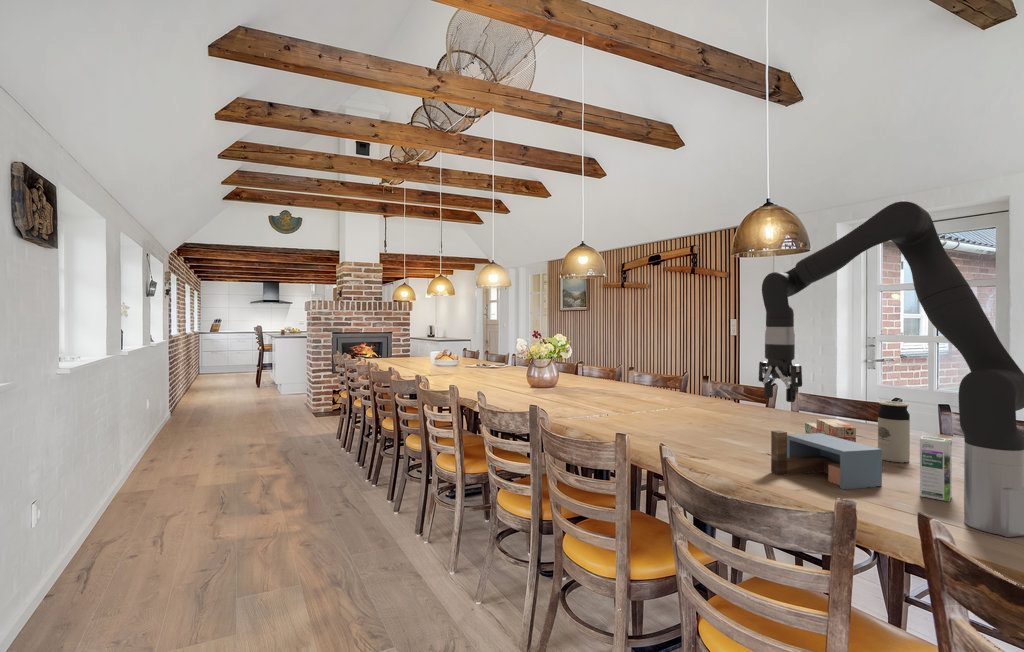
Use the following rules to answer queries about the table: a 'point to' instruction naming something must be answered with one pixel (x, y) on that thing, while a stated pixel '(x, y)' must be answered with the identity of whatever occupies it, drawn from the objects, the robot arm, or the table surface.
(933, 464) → the syrup box
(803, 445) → the cubby
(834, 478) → the cube
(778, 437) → the bent wooden plank
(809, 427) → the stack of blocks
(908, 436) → the travel mug
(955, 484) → the table surface
